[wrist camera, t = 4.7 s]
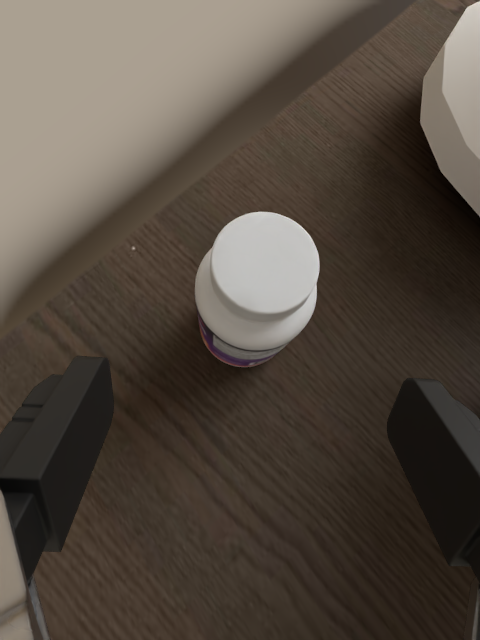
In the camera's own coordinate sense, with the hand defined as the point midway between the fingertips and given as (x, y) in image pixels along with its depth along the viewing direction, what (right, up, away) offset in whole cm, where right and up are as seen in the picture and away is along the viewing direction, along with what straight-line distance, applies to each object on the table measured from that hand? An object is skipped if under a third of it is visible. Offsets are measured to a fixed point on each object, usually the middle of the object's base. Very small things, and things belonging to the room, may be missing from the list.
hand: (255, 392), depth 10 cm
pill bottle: (0, +2, +12) cm, 13 cm away
